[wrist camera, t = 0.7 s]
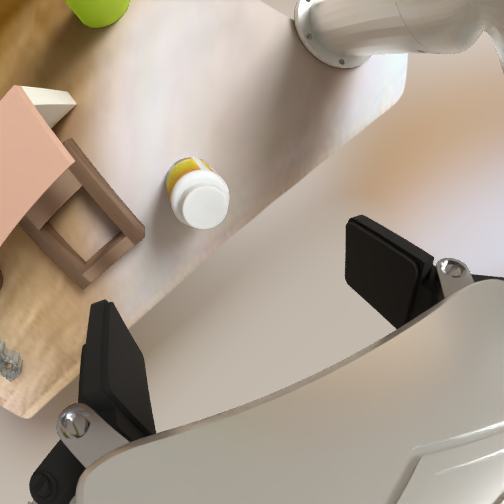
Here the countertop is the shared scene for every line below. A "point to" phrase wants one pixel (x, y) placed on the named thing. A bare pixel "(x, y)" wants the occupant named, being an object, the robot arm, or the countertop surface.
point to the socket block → (104, 197)
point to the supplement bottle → (197, 193)
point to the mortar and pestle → (1, 280)
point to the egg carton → (3, 356)
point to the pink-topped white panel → (29, 149)
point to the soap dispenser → (98, 11)
